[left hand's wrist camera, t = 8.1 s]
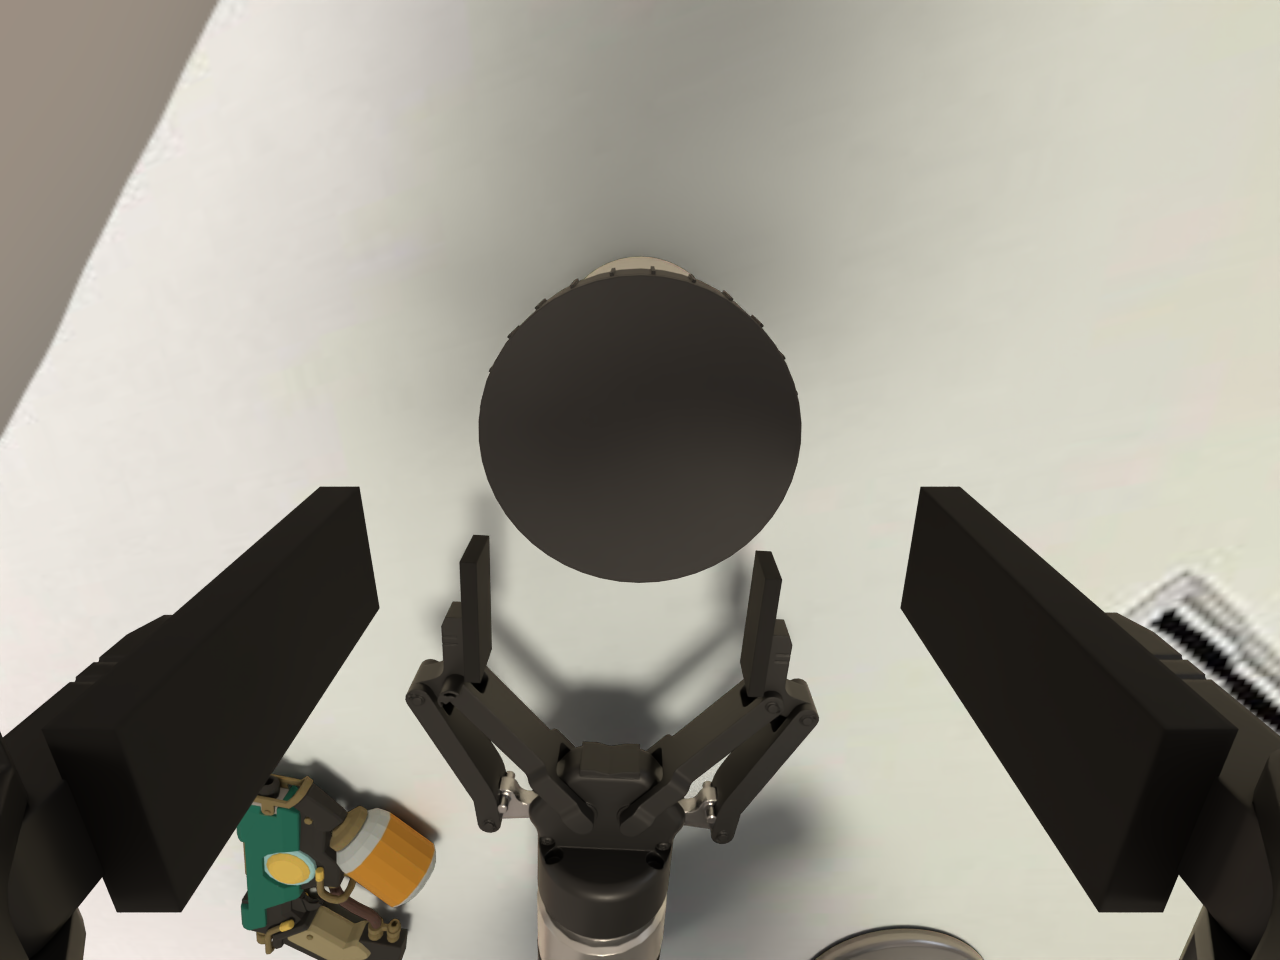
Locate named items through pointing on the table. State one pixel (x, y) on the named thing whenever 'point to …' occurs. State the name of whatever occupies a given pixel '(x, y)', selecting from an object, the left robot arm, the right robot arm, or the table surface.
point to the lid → (639, 426)
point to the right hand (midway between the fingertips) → (622, 555)
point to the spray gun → (327, 872)
